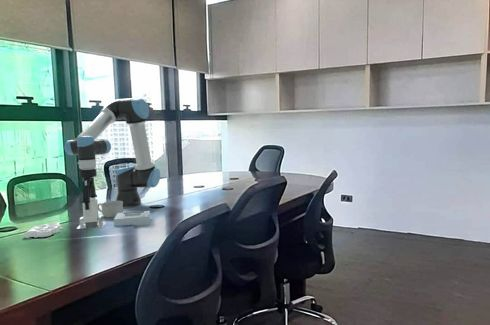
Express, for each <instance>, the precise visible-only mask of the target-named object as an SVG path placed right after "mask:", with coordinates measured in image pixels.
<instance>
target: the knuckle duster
mask: <svg viewBox="0 0 490 325" xmlns="http://www.w3.org/2000/svg"><path fill="white" fill-rule="evenodd" d="M63 229H64V227H61V223H60V222H50V223H49V222H48V223H46V224H45V223H44V224H39V225H34V226H33V227H32V228H30V229H29V230H27V231H26V232H24V233H23V234H22V237H23V238H25V239H30V238H29V237H34V238H44V237H50V236H52V235H53V234H57V233H60V232H61V231H62V230H63Z"/></svg>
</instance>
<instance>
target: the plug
mask: <svg viewBox="0 0 490 325" xmlns="http://www.w3.org/2000/svg"><path fill="white" fill-rule="evenodd" d="M95 199H96V200H90V202H91V216H90V217H85V209H84V203H82V215H83V216H82V217H84V223H85V227H86V226H97V225H98V217H99V211H98V204H99V203H98V202H99V201H98V199H97V198H95Z"/></svg>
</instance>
